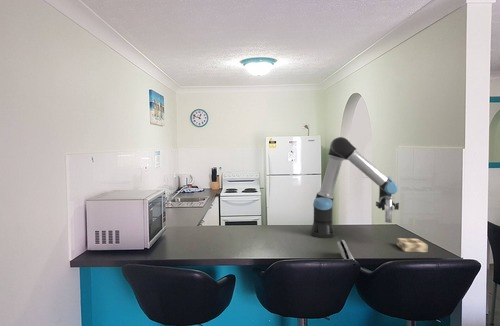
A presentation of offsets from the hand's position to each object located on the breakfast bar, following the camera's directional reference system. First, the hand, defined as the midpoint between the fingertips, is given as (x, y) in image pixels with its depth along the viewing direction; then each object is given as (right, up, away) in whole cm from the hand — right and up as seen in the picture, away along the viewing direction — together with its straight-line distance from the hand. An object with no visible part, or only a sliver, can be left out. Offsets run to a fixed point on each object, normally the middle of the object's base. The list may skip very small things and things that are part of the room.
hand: (389, 209), depth 182 cm
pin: (+2, -8, +6) cm, 10 cm away
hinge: (-30, -23, -18) cm, 42 cm away
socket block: (+12, -22, 0) cm, 25 cm away
